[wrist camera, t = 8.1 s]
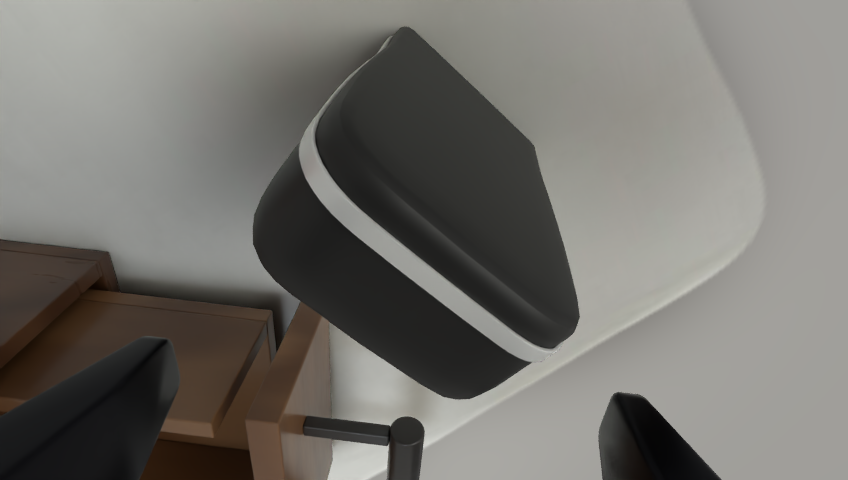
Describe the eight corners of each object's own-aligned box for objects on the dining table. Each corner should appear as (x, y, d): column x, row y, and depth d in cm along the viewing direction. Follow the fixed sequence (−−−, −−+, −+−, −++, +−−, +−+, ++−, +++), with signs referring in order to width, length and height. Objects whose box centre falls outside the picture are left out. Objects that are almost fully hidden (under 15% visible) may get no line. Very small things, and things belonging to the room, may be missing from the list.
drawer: (437, 312, 23) (424, 442, 17) (419, 470, 29) (404, 607, 23) (37, 266, 23) (-109, 376, 18) (100, 430, 29) (7, 553, 23)
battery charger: (336, 97, 19) (187, 270, 9) (401, 14, 17) (304, 119, 8) (471, 212, 21) (466, 455, 11) (541, 148, 19) (608, 368, 10)
